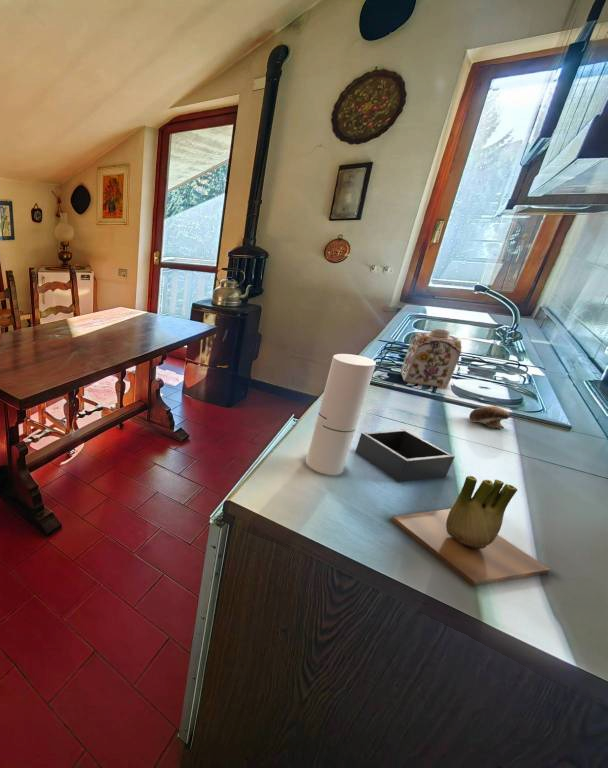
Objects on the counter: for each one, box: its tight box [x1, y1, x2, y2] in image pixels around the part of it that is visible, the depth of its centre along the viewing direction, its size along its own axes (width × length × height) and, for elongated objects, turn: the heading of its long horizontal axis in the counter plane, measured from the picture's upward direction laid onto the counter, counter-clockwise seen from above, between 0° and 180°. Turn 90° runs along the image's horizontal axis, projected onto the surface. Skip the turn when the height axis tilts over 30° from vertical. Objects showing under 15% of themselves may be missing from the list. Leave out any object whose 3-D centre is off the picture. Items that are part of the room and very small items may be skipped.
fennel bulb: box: [446, 475, 518, 549], centre depth 62 cm, size 6×5×12 cm
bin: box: [355, 428, 455, 483], centre depth 85 cm, size 12×12×6 cm
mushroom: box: [468, 405, 511, 430], centre depth 104 cm, size 8×8×6 cm
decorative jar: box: [400, 328, 462, 389], centre depth 131 cm, size 12×12×18 cm
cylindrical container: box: [305, 353, 377, 476], centre depth 81 cm, size 7×7×25 cm
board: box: [390, 508, 551, 587], centre depth 64 cm, size 14×14×1 cm
